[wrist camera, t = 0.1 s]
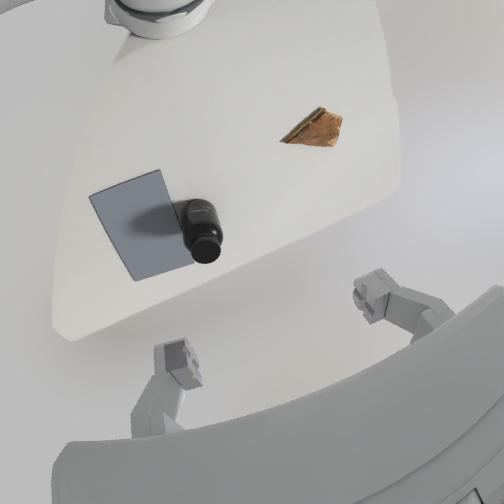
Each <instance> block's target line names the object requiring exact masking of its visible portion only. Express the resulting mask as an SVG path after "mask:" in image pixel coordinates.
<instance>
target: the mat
mask: <svg viewBox="0 0 504 504" xmlns="http://www.w3.org/2000/svg"><path fill="white" fill-rule="evenodd" d="M90 199H91V201H92V203H93V205H94V207H95V209H96V211H97V213H98V215H99V217H100V219H101V221H102V223H103V225H104V227H105V229H106V231H107V233H108V235H109V237H110V238H111V240H112V242H113V244H114V246H115V247H116V249H117V251H118V253H119V255H120V256H121V258H122V260H123V262H124V263H125V265H126V267H127V268H128V270H129V272H130V273H131V275H132V277H133V278H134V280H135V282H136V281H139V280H142V279H145V278H149V277H152V276H155V275H158V274H161V273H165V272H168V271H171V270H174V269H177V268H181V267H184V266H187V265H190V264H193V263H194V260H193V258H192V255H191V253H190V252H189V251H188V250H187V249H186V247H185V246H184V243H183V235H182V229H181V227H180V224H179V221H178V219H177V216H176V213H175V211H174V208H173V205H172V202H171V200H170V197H169V194H168V191H167V188H166V185H165V183H164V180H163V177H162V174H161V171H160V170H157V171H154V172H151V173H148V174H146V175H143V176H140V177H137V178H134V179H132V180H129V181H126V182H124V183H121V184H119V185H116V186H114V187H111V188H109V189H106V190H104V191H101V192H99V193H96V194H94V195H92V196H90Z"/></svg>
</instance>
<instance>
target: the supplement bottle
mask: <svg viewBox="0 0 504 504" xmlns="http://www.w3.org/2000/svg"><path fill="white" fill-rule="evenodd" d="M181 224H182V235H183V243H184V246H185V247H186V249H187V250H188V251H189V252H191V255H192V258H193V259H194V260H195V261H196V262H198V263H201V264H208V263H211V262H214V261H215V260H216V259H218V257H219V255H220V253H221V248H220V246H221V244H222V241H223V232H222V229H221V225H220V222H219V219H218V216H217V212H216V210H215V208H214V206H213V205H212V204H211V203H210V202H208V201H206V200H194V201H191V202H189V203H188V204H187V205H186V206H185V207H184V208H183V210H182V213H181Z"/></svg>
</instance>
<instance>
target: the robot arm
mask: <svg viewBox="0 0 504 504" xmlns="http://www.w3.org/2000/svg"><path fill="white" fill-rule="evenodd" d="M30 1H33V0H0V14H2V13H4V12H6V11H8V10H10V9H12V8H15V7H17V6H20V5H22V4H25V3H28V2H30ZM215 1H216V0H105V20H106V22H107V23H109V24H113V25H118V26H123V27H125V28H127V29H128V30H129V31H131V32H132V33H134V34H136V35H138V36H141V37H144V38H149V39H164V38H170V37H174V36H177V35H180V34H182V33H185V32H186V31H188V30H190V29H192V28H193V27H194V26H196V25H197V24H198V23H199V22H200V21H201V20H202V19H203V18H204V16H205V15H206V14H207V12H208V10H209V8H210V6H211V5H212V3H213V2H215ZM354 286H355V287H356V288H355V290H354V291H353V299H354V302H355V304H356V306H357V308H358V309H359V310H362V311H364V314H363V315H364V317H365V318H366V320H367V321H368V322H369V324H373V323H375V322H377V321H380V320H381V319H384V318H385V320H387V321H389V322H391V323H393V324H395V325H397V326H399V327H401V328H403V329H405V330H407V331H409V332H411V333H413V337H412V339H411V342H410V345H409V346H407V347H405V348H403V349H402V350H400V351H398V352H397V353H395V354H393V355H391V356H389V357H387V358H386V359H384V360H382V361H380V362H378V363H376V364H374V365H372V366H370V367H368V368H367V369H365V370H362V371H361V372H358V373H356V374H354V375H352V376H350V377H348V378H346V379H343V380H341V381H339V382H337V383H335V384H332V385H330V386H328V387H325V388H323V389H321V390H318V391H316V392H313V393H311V394H308V395H306V396H303V397H300V398H298V399H295V400H292V401H290V402H287V403H284V404H281V405H279V406H275V407H272V408H269V409H266V410H263V411H260V412H257V413H254V414H250V415H247V416H244V417H240V418H237V419H233V420H229V421H225V422H221V423H217V424H213V425H209V426H205V427H200V428H195V429H190V430H184V429H183V428H182V427H181V426H180V425H178V424H177V423H176V422H175V420H176V417H177V415H178V412H179V409H180V406H181V404H182V401H183V399H184V395H185V393H186V391H187V390H190V389H194V388H197V387H201V386H203V385H202V380H201V375H200V373H199V371H198V370H197V369H198V367H199V363H198V359H197V356H196V354H195V351H194V349H193V348H192V347H190V346H189V342H188V340H187V338H182V339H179V340H175V341H170V342H166V343H163V344H159V345H155V347H154V365H155V375H153V376H152V377H151V379H150V381H149V382H148V384H147V386H146V388H145V389H144V391H143V393H142V395H141V397H140V398H139V400H138V402H137V404H136V406H135V407H134V409H133V411H132V413H131V433H132V438H131V439H120V440H106V441H74V442H69V443H68V444H67V445H66V446H65V447H64V449H63V450H62V451H61V453H60V454H59V456H58V457H57V459H56V461H55V462H54V465H53V469H52V478H51V482H52V483H51V488H52V504H504V287H503V286H499V285H494V286H492V287H491V288H489V289H488V290H487V291H486V292H485V293H483V294H482V295H481V296H480V297H478V298H477V299H476V300H475V301H473V302H472V303H471V304H470V305H468V306H467V307H465V308H464V309H463V310H461V311H460V312H459V313H457V314H454V312H453V311H452V310H451V309H450V308H449V307H448V306H447V305H446V304H445V303H444V302H443V301H442V300H441V299H439V298H436V297H433V296H430V295H427V294H424V293H421V292H418V291H415V290H412V289H409V288H406V287H400V286H399V285H398V284H397V283H396V282H395V281H394V280H393V279H392V278H391V277H390V276H389V275H388V274H387V273H386V272H385V271H384V270H383V269H382V268H380V269H377V270H375V271H373V272H370V273H368V274H365V275H363V276H361V277H359V278H356V279H355V280H354Z"/></svg>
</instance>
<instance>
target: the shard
mask: <svg viewBox="0 0 504 504" xmlns="http://www.w3.org/2000/svg"><path fill="white" fill-rule="evenodd" d="M341 123H342V116H337V115H334V114H331V113H329V112H328V111H326V109H325V108H322V109H320V111H319V112H318V113H317V114H316V115H315V116H313V117H312V119H311V120H309V121H308V122H306V123H305V124H303V125H302V126H301V127H300V128H298V129H297V130H296V131H295V132H294V133H293V134H292V135H291V136H290V137H289V138H288V139H287V141H286V142H285V143H290V144H305V145H312V146H321V147H327V146H330V147H334V146H335V145H336V142H337V140H338V136H339V131H340V127H341Z"/></svg>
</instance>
